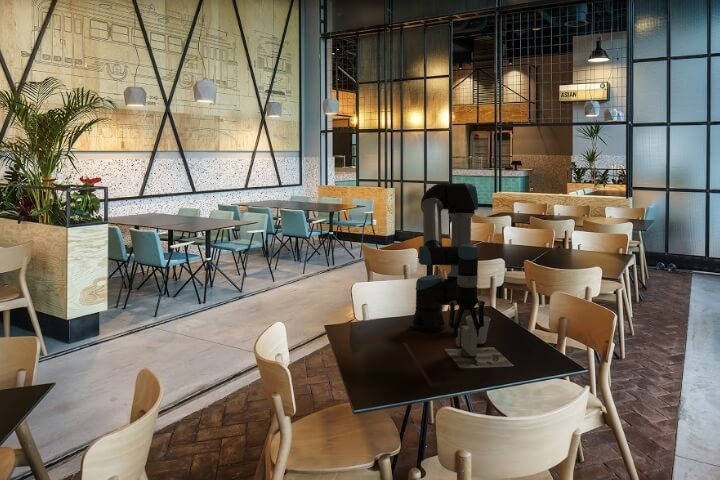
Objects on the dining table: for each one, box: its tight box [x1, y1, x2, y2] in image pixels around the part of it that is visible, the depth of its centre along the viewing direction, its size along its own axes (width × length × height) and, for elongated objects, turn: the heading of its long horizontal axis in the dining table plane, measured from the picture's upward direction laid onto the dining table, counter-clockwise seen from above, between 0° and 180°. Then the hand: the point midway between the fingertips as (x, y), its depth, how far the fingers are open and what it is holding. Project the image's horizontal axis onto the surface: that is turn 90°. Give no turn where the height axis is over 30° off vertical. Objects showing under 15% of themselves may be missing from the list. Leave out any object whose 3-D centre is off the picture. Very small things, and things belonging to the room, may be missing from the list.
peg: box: [460, 325, 478, 363], centre depth 221 cm, size 15×6×10 cm, turn 7°
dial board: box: [444, 346, 515, 369], centre depth 222 cm, size 22×20×1 cm
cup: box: [465, 314, 492, 345], centre depth 241 cm, size 10×10×11 cm
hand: (465, 344), depth 227 cm, fingers open, 6 cm apart
